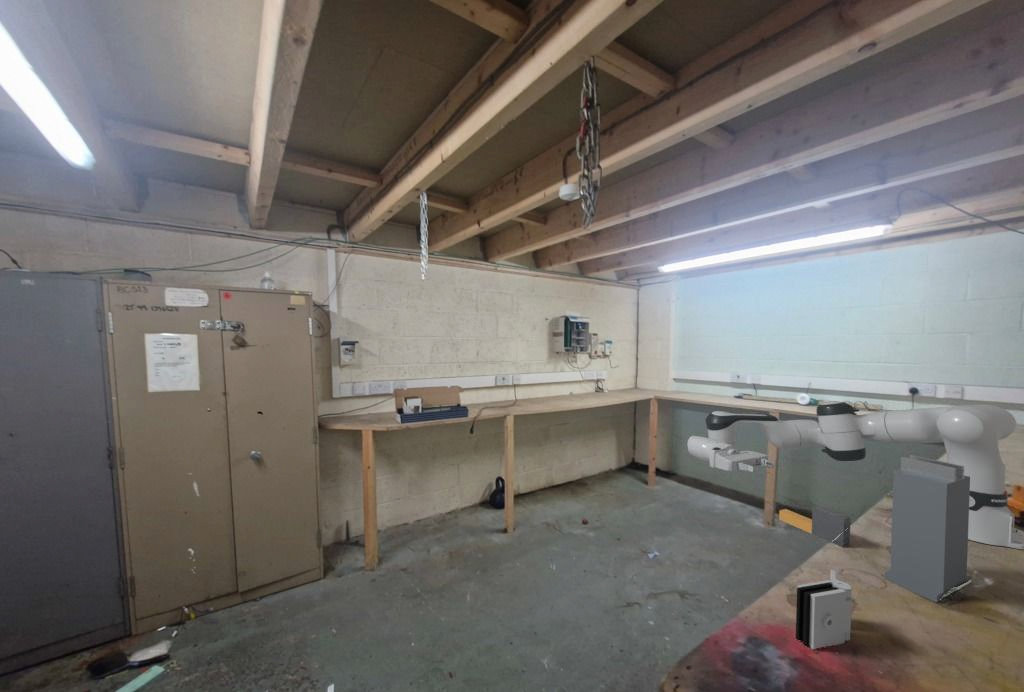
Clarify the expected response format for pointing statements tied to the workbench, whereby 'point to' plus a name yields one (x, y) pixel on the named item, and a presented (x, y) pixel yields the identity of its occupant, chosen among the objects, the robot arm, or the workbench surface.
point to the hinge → (823, 612)
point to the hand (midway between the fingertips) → (763, 467)
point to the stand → (929, 527)
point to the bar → (821, 524)
